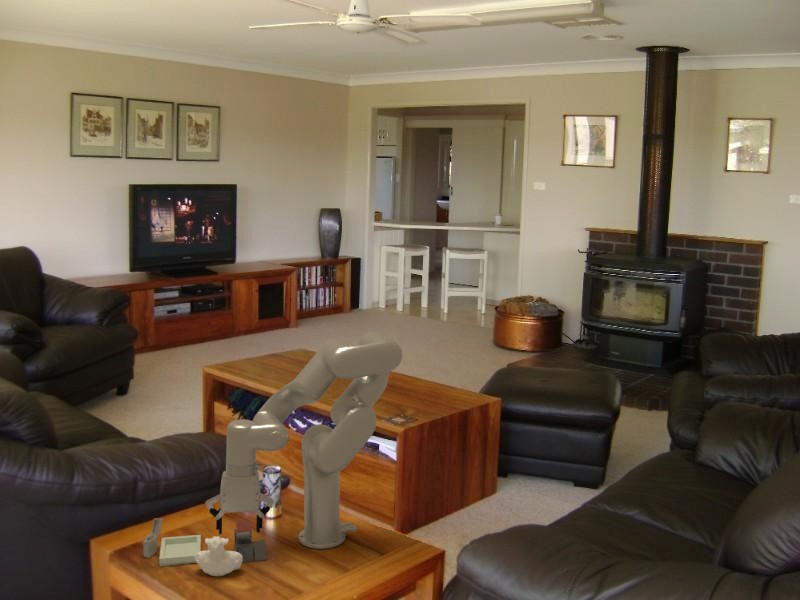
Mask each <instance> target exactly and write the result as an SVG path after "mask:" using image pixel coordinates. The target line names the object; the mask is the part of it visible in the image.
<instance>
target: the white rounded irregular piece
mask: <svg viewBox="0 0 800 600" xmlns="http://www.w3.org/2000/svg"><path fill="white" fill-rule="evenodd" d="M229 541H230V540H229V538H224V537H220V536H215V535H214V536H213V537H211V538H207V537H206V538H205V539H204V543H205V544H206V545H207V550H201V551H200V552H198V553H196V554H195V556H194V558H195V560H196V562H197V563H196V564H198V566H199V568H200V569H201V570H202V571H203V572H204V573H205V574H207V575H209V576H211V577H223V576H225V575H228V574H230V573H232V572H233V571H236V570H238V569H240V568H241V566H242V564H243V562H242V561H243V557H242V555H241V554H240V553H238V552H236V551H235V550H226V549H225V546H226V545H227V544H228V543H229Z"/></svg>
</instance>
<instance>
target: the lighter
mask: <svg viewBox="0 0 800 600" xmlns="http://www.w3.org/2000/svg"><path fill="white" fill-rule="evenodd" d="M162 523H163V519H162V518H156V517H155V518H153V523H152V526H151V527H152V528H151V532H149V533H148V534H147V535H146V538H145V539H143V542H142V543H143V544H142V545H143V548H142V549H143V557H144V558H151V557H152V556H153V555H154V554H155V553H157V552H158V536H160V535H161V531H162Z"/></svg>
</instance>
